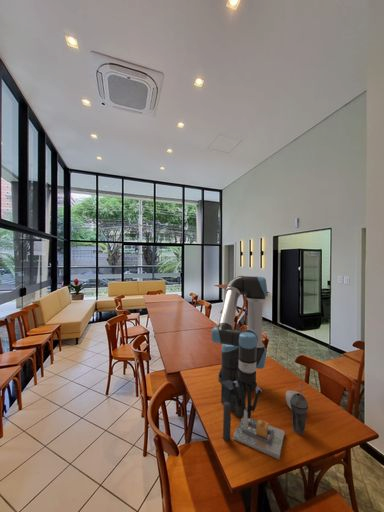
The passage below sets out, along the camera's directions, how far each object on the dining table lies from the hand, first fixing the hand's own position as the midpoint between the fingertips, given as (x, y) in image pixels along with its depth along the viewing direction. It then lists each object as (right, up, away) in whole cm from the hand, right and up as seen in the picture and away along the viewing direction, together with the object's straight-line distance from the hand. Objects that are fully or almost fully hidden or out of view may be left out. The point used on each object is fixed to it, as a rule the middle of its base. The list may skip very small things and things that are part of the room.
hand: (246, 423), depth 97 cm
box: (-4, -4, +17) cm, 18 cm away
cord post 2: (-1, -3, +9) cm, 10 cm away
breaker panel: (+5, -3, -3) cm, 6 cm away
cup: (+28, -4, +17) cm, 33 cm away
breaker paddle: (+6, -1, -4) cm, 7 cm away
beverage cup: (+23, -4, +1) cm, 24 cm away
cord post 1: (-9, -3, -4) cm, 11 cm away
